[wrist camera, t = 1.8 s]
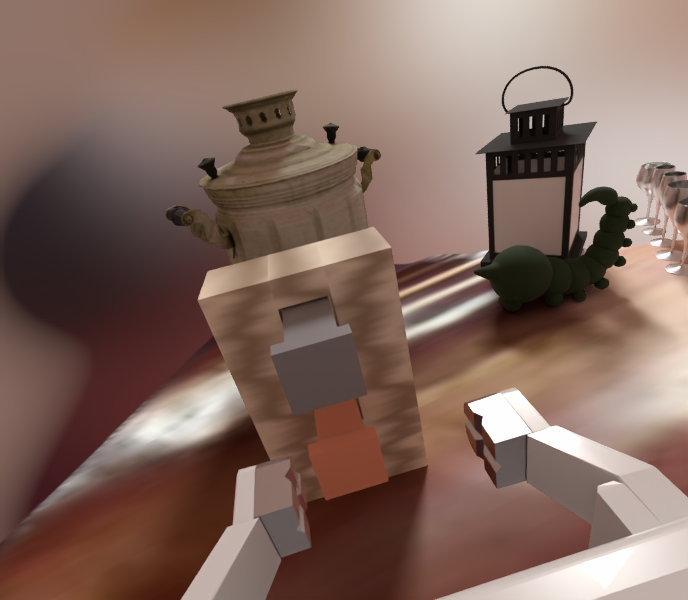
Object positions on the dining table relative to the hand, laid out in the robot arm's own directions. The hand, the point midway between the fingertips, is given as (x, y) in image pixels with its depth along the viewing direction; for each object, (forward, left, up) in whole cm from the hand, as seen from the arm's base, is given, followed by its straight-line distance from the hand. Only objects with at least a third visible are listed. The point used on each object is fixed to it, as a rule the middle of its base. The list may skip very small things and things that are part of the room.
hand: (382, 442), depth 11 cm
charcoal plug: (+2, -19, -11) cm, 22 cm away
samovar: (+2, -47, -30) cm, 56 cm away
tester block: (+2, -24, -30) cm, 39 cm away
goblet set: (-66, -53, -30) cm, 90 cm away
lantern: (-46, -63, -30) cm, 84 cm away
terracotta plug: (+2, -19, -21) cm, 28 cm away
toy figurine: (-37, -45, -30) cm, 66 cm away
